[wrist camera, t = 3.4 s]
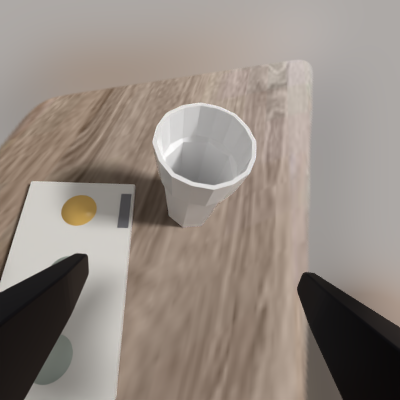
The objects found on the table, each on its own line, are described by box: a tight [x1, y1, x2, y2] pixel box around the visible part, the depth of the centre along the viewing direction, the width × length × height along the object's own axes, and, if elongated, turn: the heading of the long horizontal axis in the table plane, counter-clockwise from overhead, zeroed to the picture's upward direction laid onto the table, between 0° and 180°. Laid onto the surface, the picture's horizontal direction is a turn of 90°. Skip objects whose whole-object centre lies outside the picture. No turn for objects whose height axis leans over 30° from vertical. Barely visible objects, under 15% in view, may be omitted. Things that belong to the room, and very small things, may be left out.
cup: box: [152, 103, 256, 227], centre depth 18 cm, size 7×7×11 cm
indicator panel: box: [0, 181, 136, 400], centre depth 19 cm, size 18×10×1 cm, turn 2°
